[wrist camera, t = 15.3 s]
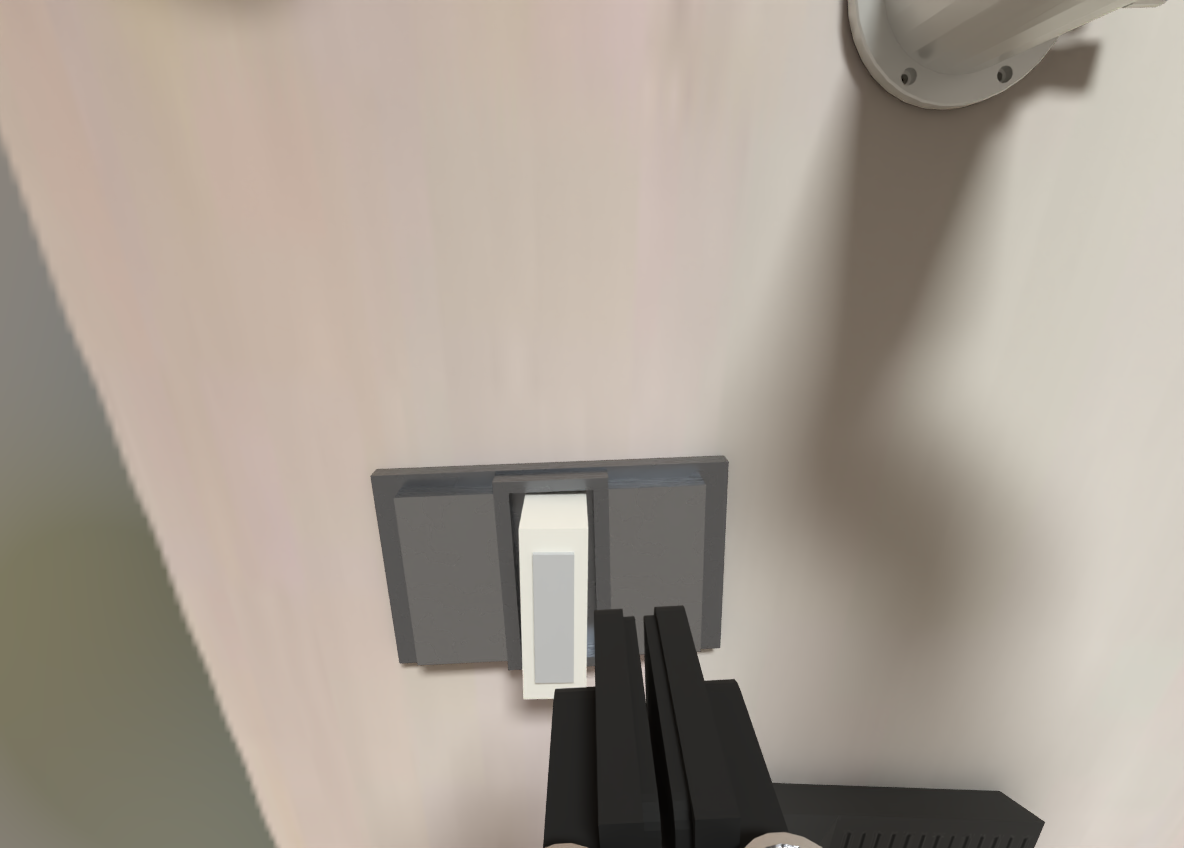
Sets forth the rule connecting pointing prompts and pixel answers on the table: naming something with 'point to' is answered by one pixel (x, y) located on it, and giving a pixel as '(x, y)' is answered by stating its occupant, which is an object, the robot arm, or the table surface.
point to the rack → (491, 549)
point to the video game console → (905, 817)
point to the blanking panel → (553, 591)
